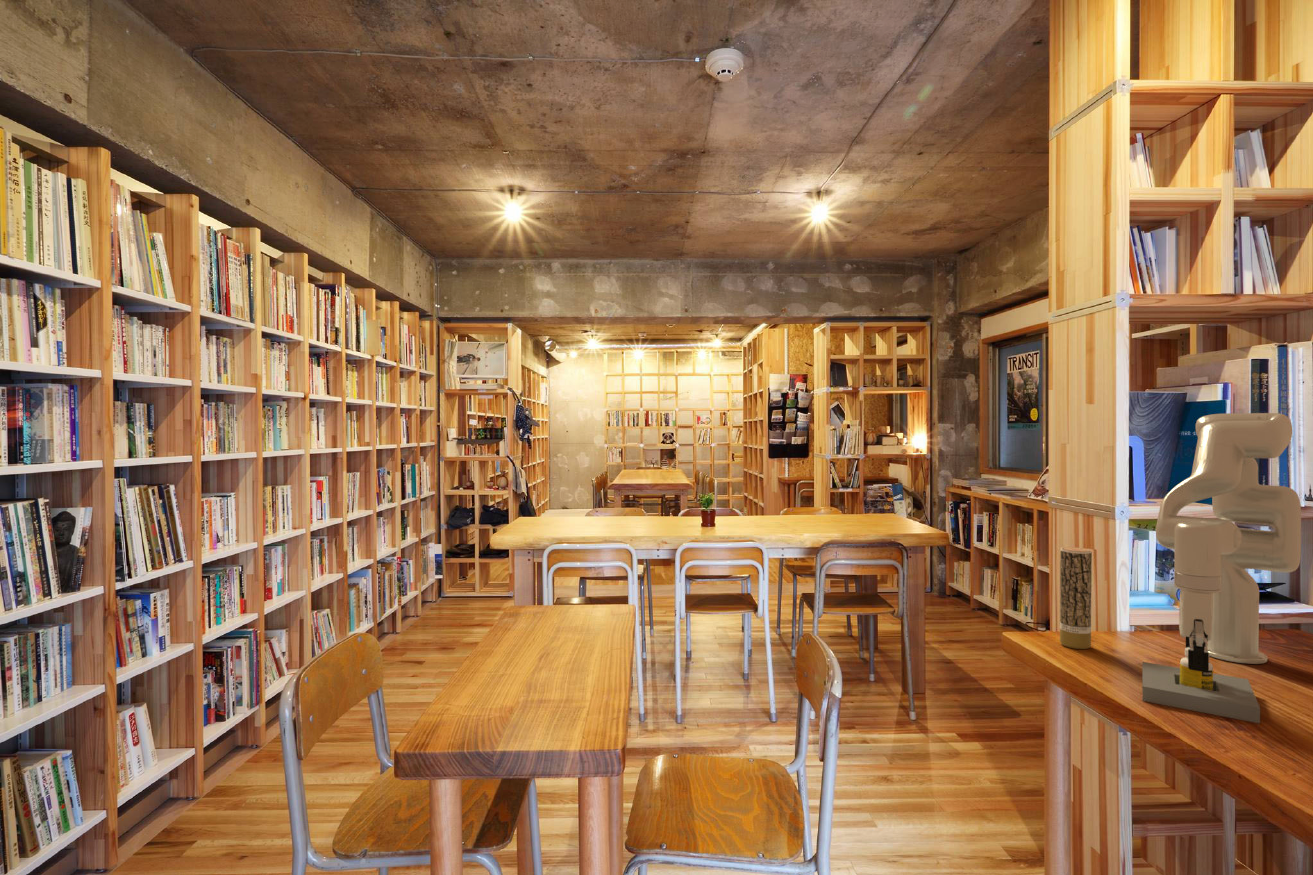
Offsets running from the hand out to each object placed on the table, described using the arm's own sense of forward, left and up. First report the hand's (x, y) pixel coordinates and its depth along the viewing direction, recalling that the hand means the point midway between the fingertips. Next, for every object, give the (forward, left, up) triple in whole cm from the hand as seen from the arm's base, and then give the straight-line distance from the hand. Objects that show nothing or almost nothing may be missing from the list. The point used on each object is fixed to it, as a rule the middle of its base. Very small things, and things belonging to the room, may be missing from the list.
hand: (1196, 663), depth 139 cm
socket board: (0, 0, -7) cm, 7 cm away
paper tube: (-24, -23, -7) cm, 34 cm away
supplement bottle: (0, 0, -7) cm, 7 cm away
